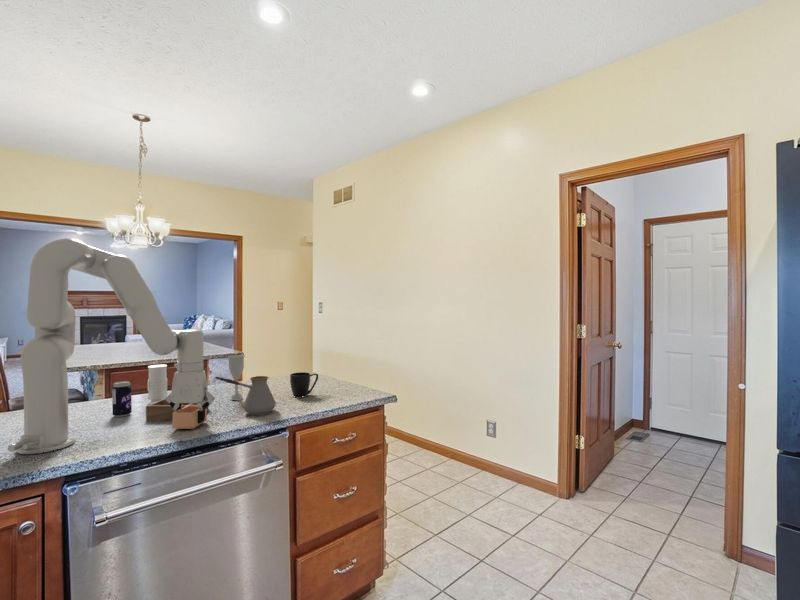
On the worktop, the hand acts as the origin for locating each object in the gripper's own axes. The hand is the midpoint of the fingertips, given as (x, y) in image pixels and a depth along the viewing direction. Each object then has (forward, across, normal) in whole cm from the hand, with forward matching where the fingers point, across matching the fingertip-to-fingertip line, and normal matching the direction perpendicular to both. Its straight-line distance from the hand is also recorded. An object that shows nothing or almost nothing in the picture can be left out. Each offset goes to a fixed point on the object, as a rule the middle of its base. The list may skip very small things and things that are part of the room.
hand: (190, 421), depth 133 cm
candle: (+2, -30, +31) cm, 43 cm away
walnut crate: (+2, -12, +14) cm, 18 cm away
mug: (+1, +27, +42) cm, 50 cm away
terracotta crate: (+1, 0, 0) cm, 1 cm away
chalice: (+2, 0, +36) cm, 36 cm away
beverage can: (+2, -32, +13) cm, 34 cm away
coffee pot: (+2, +13, +13) cm, 19 cm away
